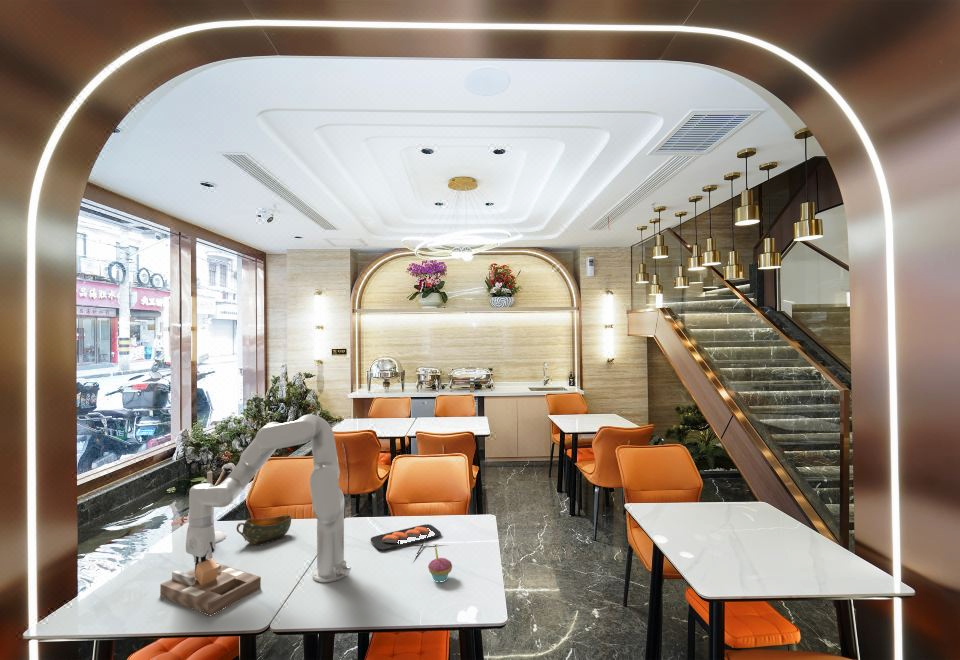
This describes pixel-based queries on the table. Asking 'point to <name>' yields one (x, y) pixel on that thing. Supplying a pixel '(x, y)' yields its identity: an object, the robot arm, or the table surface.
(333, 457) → the robot arm
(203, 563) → the block
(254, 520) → the green gravy boat
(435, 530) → the sushi plate
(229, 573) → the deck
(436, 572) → the cupcake
